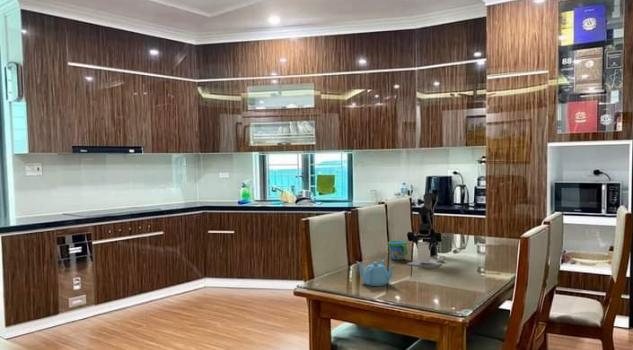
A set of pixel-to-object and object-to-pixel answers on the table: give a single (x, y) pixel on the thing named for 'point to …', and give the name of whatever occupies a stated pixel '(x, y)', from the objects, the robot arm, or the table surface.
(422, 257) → the cover
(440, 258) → the silver metallic cylinder
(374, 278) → the teapot
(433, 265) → the mat
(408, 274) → the table surface
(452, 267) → the table surface
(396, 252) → the snack cup
